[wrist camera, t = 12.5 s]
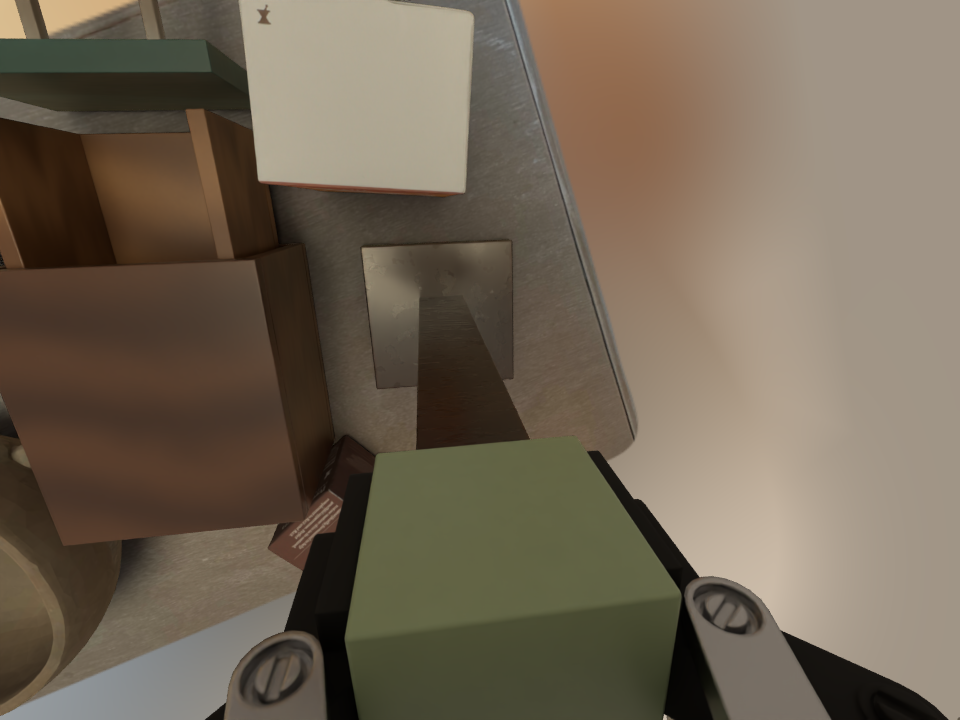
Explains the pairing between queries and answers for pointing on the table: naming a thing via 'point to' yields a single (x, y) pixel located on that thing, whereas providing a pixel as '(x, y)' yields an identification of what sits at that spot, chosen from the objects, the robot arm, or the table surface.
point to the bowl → (43, 585)
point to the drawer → (127, 153)
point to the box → (322, 502)
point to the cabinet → (167, 392)
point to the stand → (446, 336)
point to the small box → (359, 94)
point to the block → (506, 591)
